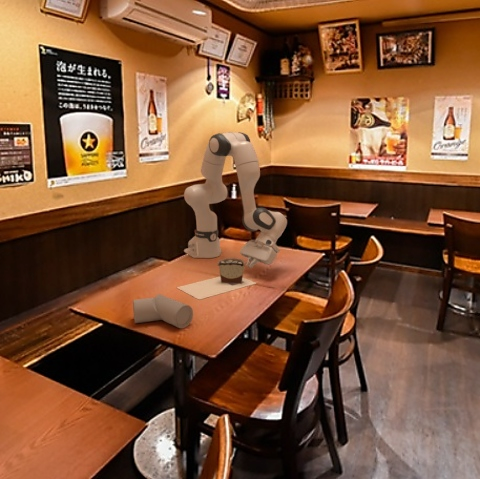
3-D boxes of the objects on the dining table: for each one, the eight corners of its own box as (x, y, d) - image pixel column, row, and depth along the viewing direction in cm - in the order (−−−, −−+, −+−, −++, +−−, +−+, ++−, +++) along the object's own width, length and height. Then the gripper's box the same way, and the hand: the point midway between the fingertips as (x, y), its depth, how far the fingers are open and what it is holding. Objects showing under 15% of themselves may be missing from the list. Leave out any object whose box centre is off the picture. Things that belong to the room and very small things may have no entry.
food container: (246, 279, 209) (246, 258, 207) (245, 283, 203) (245, 262, 201) (219, 278, 210) (219, 257, 208) (217, 283, 204) (217, 261, 202)
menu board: (176, 287, 199) (176, 287, 199) (232, 273, 218) (232, 273, 218) (199, 299, 186) (199, 299, 185) (256, 283, 204) (256, 283, 204)
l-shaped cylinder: (185, 305, 177) (132, 312, 171) (185, 282, 172) (131, 288, 166) (195, 333, 162) (138, 342, 156) (196, 309, 157) (137, 317, 151)
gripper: (246, 235, 221) (231, 258, 217) (275, 243, 205) (259, 268, 202) (253, 242, 225) (238, 265, 221) (282, 251, 209) (266, 275, 206)
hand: (248, 266), depth 211 cm, fingers closed
